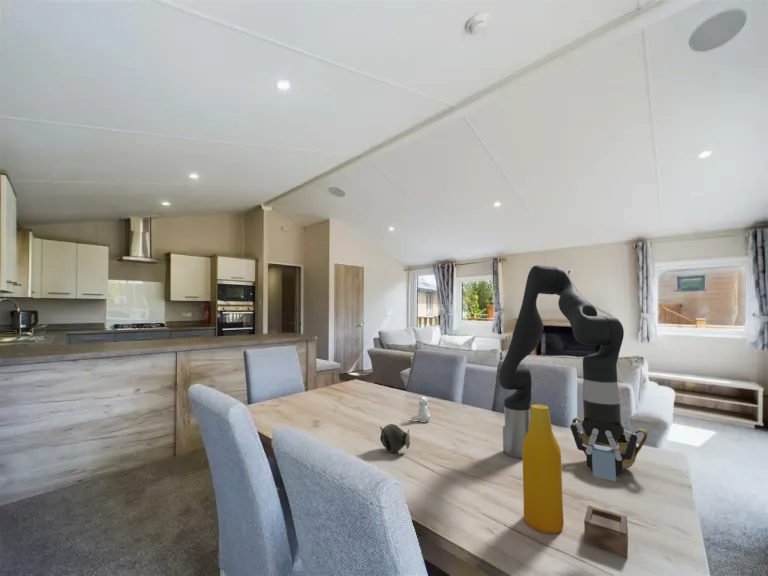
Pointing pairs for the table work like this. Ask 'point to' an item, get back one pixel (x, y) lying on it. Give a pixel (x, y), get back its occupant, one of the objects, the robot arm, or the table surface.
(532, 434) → the beer bottle
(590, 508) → the walnut base
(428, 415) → the sitting furry creature
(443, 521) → the table surface
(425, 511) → the table surface
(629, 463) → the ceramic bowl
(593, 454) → the lid block
